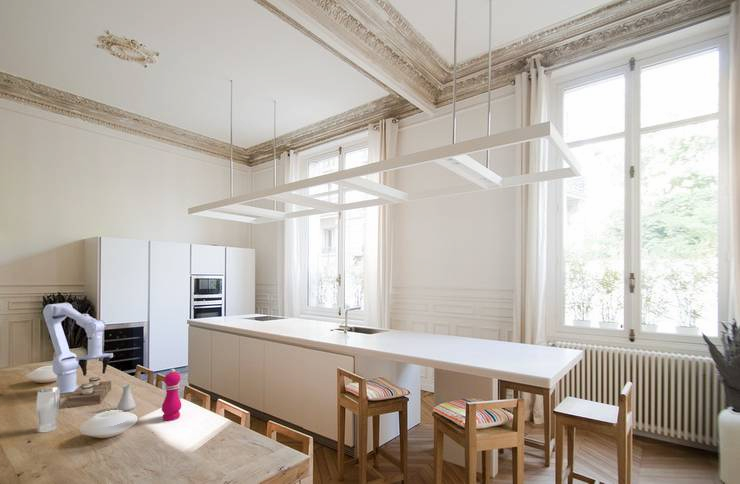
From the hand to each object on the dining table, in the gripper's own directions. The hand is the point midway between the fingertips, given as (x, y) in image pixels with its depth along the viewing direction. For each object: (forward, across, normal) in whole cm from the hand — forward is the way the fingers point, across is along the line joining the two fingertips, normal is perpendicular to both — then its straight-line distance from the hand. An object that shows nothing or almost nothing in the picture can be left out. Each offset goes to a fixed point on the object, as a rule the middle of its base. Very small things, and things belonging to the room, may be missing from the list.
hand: (94, 374), depth 185 cm
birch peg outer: (+6, 0, -12) cm, 13 cm away
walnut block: (+10, 0, -6) cm, 11 cm away
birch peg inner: (+6, 0, 0) cm, 6 cm away
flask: (+10, +18, -28) cm, 35 cm away
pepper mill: (+11, +37, -47) cm, 61 cm away
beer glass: (+10, -6, -40) cm, 41 cm away
